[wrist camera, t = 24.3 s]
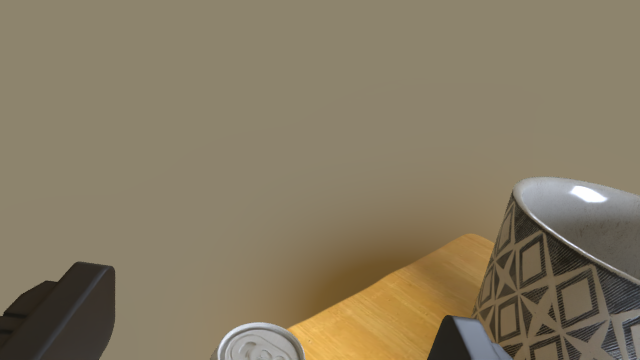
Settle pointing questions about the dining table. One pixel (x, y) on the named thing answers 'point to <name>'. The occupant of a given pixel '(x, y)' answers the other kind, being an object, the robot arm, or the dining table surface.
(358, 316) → the dining table surface
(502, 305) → the planter
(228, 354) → the beer can
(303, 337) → the dining table surface
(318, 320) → the dining table surface
